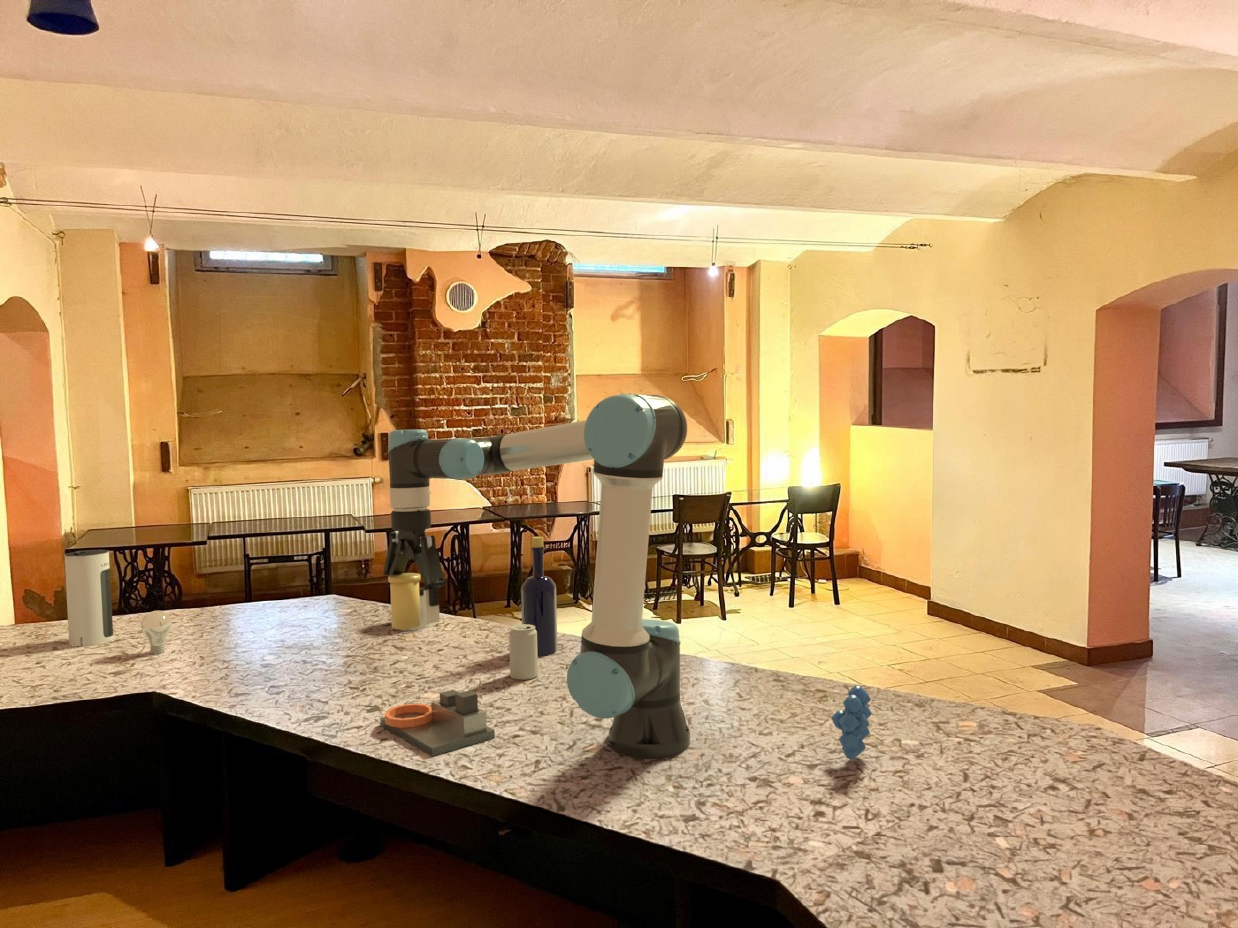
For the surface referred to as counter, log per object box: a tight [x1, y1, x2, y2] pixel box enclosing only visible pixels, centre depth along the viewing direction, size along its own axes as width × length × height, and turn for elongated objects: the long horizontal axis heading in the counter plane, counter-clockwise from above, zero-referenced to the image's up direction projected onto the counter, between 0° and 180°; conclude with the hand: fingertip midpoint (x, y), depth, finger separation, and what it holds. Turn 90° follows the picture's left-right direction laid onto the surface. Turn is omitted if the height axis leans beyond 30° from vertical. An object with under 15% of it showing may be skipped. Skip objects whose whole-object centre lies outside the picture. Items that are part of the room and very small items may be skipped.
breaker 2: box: [455, 690, 479, 715], centre depth 160 cm, size 3×3×4 cm
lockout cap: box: [387, 572, 422, 630], centre depth 169 cm, size 6×6×10 cm
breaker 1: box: [439, 689, 460, 707], centre depth 165 cm, size 3×3×4 cm
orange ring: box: [384, 703, 432, 728], centre depth 166 cm, size 9×9×2 cm
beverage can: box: [508, 623, 539, 681], centre depth 197 cm, size 6×6×12 cm
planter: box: [400, 587, 438, 631], centre depth 243 cm, size 13×13×11 cm
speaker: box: [64, 549, 114, 647], centre depth 231 cm, size 11×10×26 cm
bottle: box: [520, 536, 558, 657], centre depth 215 cm, size 9×9×30 cm
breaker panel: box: [379, 699, 496, 757], centre depth 164 cm, size 21×13×5 cm, turn 41°
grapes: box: [831, 684, 873, 761], centre depth 149 cm, size 12×7×12 cm, turn 149°
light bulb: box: [140, 610, 173, 655], centre depth 220 cm, size 7×7×12 cm
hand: (414, 617), depth 167 cm, fingers open, 13 cm apart
